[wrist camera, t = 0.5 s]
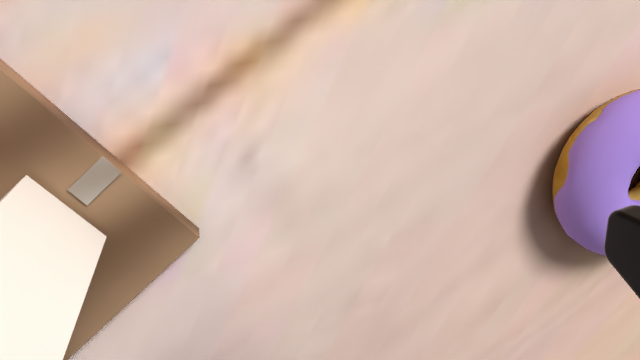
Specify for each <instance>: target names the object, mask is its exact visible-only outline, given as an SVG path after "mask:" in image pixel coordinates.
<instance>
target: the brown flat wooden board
mask: <svg viewBox="0 0 640 360" xmlns="http://www.w3.org/2000/svg"><path fill="white" fill-rule="evenodd" d="M26 175H27V176H29V177H30V178H31V179H32V180H34V181H35V182H36V183H38V184H39V185H40V186H42V187H43V188H44V189H45V190H47V191H48V192H49V193H51V194H52V195H53V196H55V197H56V198H57V199H58V200H60V201H61V202H62V203H64V204H65V205H66V206H68V207H69V208H70V209H71V210H73V211H74V212H75V213H77V214H78V215H79V216H81V217H82V218H83V219H84V220H86V221H87V222H88V223H90V224H91V225H92V226H94V227H95V228H96V229H97V230H99V231H100V232H101V233H103V234H104V235H105V236H107V237H106V240H105V243H104V245H103V248H102V251H101V254H100V257H99V259H98V262H97V265H96V268H95V271H94V273H93V276H92V279H91V282H90V285H89V287H88V290H87V293H86V296H85V299H84V302H83V304H82V307H81V310H80V313H79V316H78V318H77V321H76V324H75V327H74V330H73V332H72V335H71V338H70V341H69V344H68V346H67V349H66V352H65V355H64V358H63V360H68V359H69V358H70V357H71V356H72V355H73V354H74V353H75V352H76V351H77V350H78V349H80V348H81V347H82V346H83V345H84V344H85V343H86V342H87V341H88V340H89V339H90V338H91V337H93V336H94V335H95V334H96V333H97V332H98V331H99V330H100V329H101V328H102V327H103V326H104V325H105V324H107V323H108V322H109V321H110V320H111V319H112V318H113V317H114V316H115V315H116V314H117V313H118V312H119V311H121V310H122V309H123V308H124V307H125V306H126V305H127V304H128V303H129V302H130V301H131V300H132V299H134V298H135V297H136V296H137V295H138V294H139V293H140V292H141V291H142V290H143V289H144V288H145V287H146V286H148V285H149V284H150V283H151V282H152V281H153V280H154V279H155V278H156V277H157V276H158V275H159V274H161V273H162V272H163V271H164V270H165V269H166V268H167V267H168V266H169V265H170V264H171V263H172V262H173V261H175V260H176V259H177V258H178V257H179V256H180V255H181V254H182V253H183V252H184V251H185V250H186V249H188V248H189V247H190V246H191V245H192V244H193V243H194V242H195V241H196V240H197V239H198V238H199V228H198V227H197V226H195V225H194V224H193V223H192V222H191V221H190V220H188V219H187V218H186V217H185V216H184V215H182V214H181V213H180V212H179V211H178V210H177V209H175V208H174V207H173V206H172V205H171V204H170V203H168V202H167V201H166V200H165V199H164V198H163V197H161V196H160V195H159V194H158V193H157V192H156V191H154V190H153V189H152V188H151V187H150V186H149V185H147V184H146V183H145V182H144V181H143V180H142V179H140V178H139V177H138V176H137V175H136V174H135V173H133V172H132V171H131V170H130V169H129V168H127V167H126V166H125V165H124V164H123V163H122V162H120V161H119V160H118V159H117V158H116V157H115V156H113V155H112V154H111V153H110V152H109V151H108V150H106V149H105V148H104V147H103V146H102V145H101V144H99V143H98V142H97V141H96V140H95V139H94V138H92V137H91V136H90V135H89V134H88V133H87V132H85V131H84V130H83V129H82V128H81V127H80V126H78V125H77V124H76V123H75V122H74V121H72V120H71V119H70V118H69V117H68V116H67V115H65V114H64V113H63V112H62V111H61V110H60V109H58V108H57V107H56V106H55V105H54V104H53V103H51V102H50V101H49V100H48V99H47V98H46V97H44V96H43V95H42V94H41V93H40V92H39V91H37V90H36V89H35V88H34V87H33V86H32V85H30V84H29V83H28V82H27V81H26V80H25V79H23V78H22V77H21V76H20V75H19V74H17V73H16V72H15V71H14V70H13V69H12V68H10V67H9V66H8V65H7V64H6V63H5V62H3V61H2V60H1V59H0V200H1V199H2V198H3V197H4V196H5V195H6V194H7V193H8V192H9V191H10V190H11V189H12V188H13V187H14V186H15V185H16V184H17V183H18V182H19V181H20V180H21V179H23V178H24V177H25V176H26Z"/></svg>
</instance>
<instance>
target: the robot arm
mask: <svg viewBox="0 0 640 360" xmlns="http://www.w3.org/2000/svg"><path fill="white" fill-rule="evenodd" d="M604 250H605V254H606V256H607V258H608V260H609V262H610V263H611V264H612V265H613V267H614V268H615V269H616V270H617V271H618V273H619V274H620V275H621V276H622V278H623V279H624V280H625V281H626V282H627V284H628V285H629V286H630V287H631V289H632V290H633V291H634V292H635V293H636V295H637V296H638V297H639V298H640V206H638V205H630V206H627V207H624V208H621V209H618V210H616V211H613V212H612V213H611V214H610V215H609V217H608V222H607V230H606V237H605V245H604Z"/></svg>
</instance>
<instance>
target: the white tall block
mask: <svg viewBox="0 0 640 360" xmlns="http://www.w3.org/2000/svg"><path fill="white" fill-rule="evenodd" d="M106 237H107V236H105V235H104V234H103V233H101V232H100V231H99V230H97V229H96V228H95V227H94V226H92V225H91V224H90V223H88V222H87V221H86V220H84V219H83V218H82V217H81V216H79V215H78V214H77V213H75V212H74V211H73V210H71V209H70V208H69V207H68V206H66V205H65V204H64V203H62V202H61V201H60V200H58V199H57V198H56V197H55V196H53V195H52V194H51V193H49V192H48V191H47V190H45V189H44V188H43V187H42V186H40V185H39V184H38V183H36V182H35V181H34V180H32V179H31V178H30V177H29V176H27V175H26V176H25V177H24V178H23V179H21V180H20V181H19V182H18V183H17V184H16V185H15V186H14V187H13V188H12V189H11V190H10V191H9V192H8V193H7V194H6V195H5V196H4V197H3V198H2V199H1V200H0V360H63V358H64V355H65V352H66V349H67V346H68V344H69V341H70V338H71V335H72V332H73V330H74V327H75V324H76V321H77V318H78V316H79V313H80V310H81V307H82V304H83V302H84V299H85V296H86V293H87V290H88V287H89V285H90V282H91V279H92V276H93V273H94V271H95V268H96V265H97V262H98V259H99V257H100V254H101V251H102V248H103V245H104V243H105V240H106Z"/></svg>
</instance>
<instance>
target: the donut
mask: <svg viewBox="0 0 640 360" xmlns="http://www.w3.org/2000/svg"><path fill="white" fill-rule="evenodd" d="M639 166H640V89H638V90H634V91H630V92H628V93H625V94H622V95H620V96H618V97H616V98H614V99H612V100H610V101H608V102H607V103H605V104H603V105H602V106H600V107H598V108H597V109H595V110H594V111H593V112H592V113H591V114H590V115H589V116H588V117H587V118H586V119H585V120H584V121H583V122H582V123H581V124H580V125H579V126H578V127H577V129H576V130H575V131H574V132H573V133H572V135H571V136H570V137H569V139H568V141H567V143H566V144H565V146H564V148H563V149H562V152H561V154H560V157H559V160H558V162H557V165H556V167H555V171H554V176H553V187H552V195H553V206H554V210H555V213H556V216H557V218H558V220H559V222H560V224H561V226H562V228H563V229H564V231H565V233H566V234H567V235H568V236H569V237H570V238H572V239H573V240H574V241H576V242H577V243H578V244H580V245H581V246H583V247H584V248H586V249H587V250H589V251H591V252H594V253H598V254H601V255H604V256H606V254H605V250H604V245H605V237H606V230H607V222H608V217H609V215H610V214H611V213H612V212H613V211H616V210H618V209H621V208H624V207H627V206H630V205H638V206H640V181H639V182H638V184H637V185H636V186H635V187H634V188H632V189H631V190H630V191H629V192H628V189H629V185H630V182H631V179H632V177H633V175H634V174H635V172H636V170H637V169H638V168H639Z"/></svg>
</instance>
